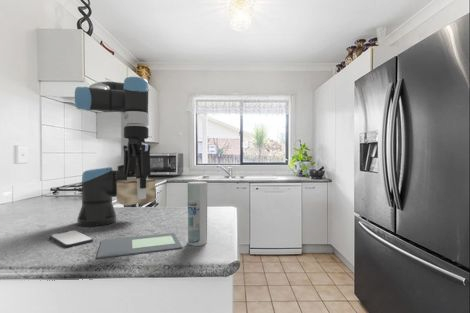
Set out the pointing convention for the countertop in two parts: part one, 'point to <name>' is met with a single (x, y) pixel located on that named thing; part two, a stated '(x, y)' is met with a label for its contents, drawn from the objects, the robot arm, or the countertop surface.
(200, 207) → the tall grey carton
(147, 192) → the box
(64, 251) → the countertop surface
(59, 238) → the phone case
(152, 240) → the mat
